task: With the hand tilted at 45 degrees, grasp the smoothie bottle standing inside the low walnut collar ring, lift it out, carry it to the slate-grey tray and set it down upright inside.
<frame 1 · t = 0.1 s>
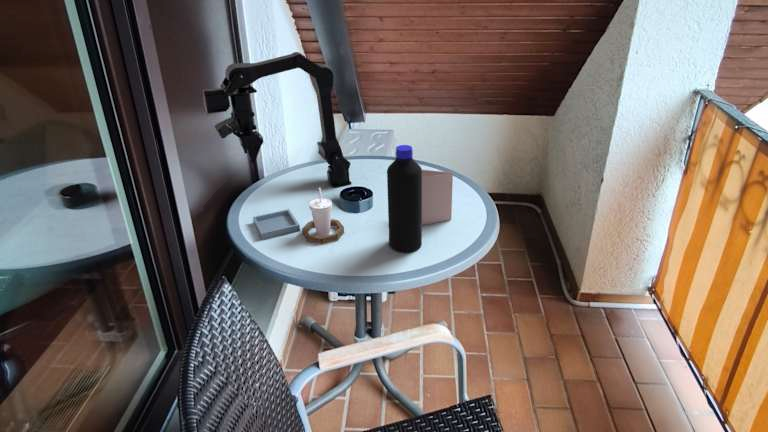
hand: (249, 158, 166), 15 cm above the table, tool pointing down, fingers open, 9 cm apart
bottle: (405, 245, 147), on the table
greeting card: (430, 222, 158), on the table
tray: (276, 226, 158), on the table
smoothie: (323, 234, 154), resting in collar
collar: (323, 233, 153), on the table
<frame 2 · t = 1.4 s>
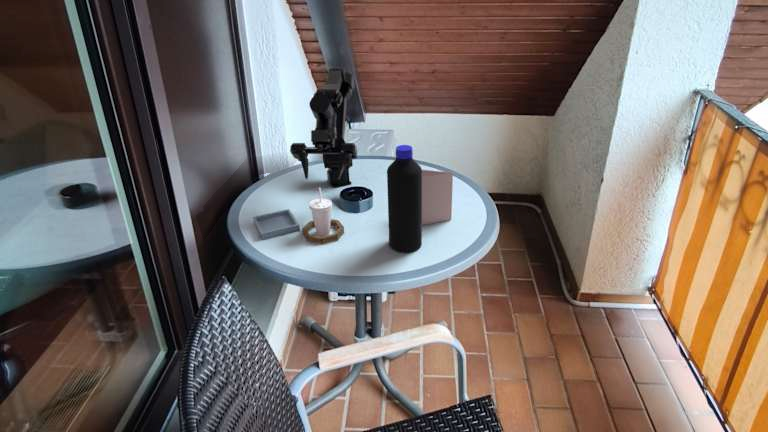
hand: (322, 178, 154), 13 cm above the table, tool tilted 45°, fingers open, 9 cm apart
nothing on the table moved.
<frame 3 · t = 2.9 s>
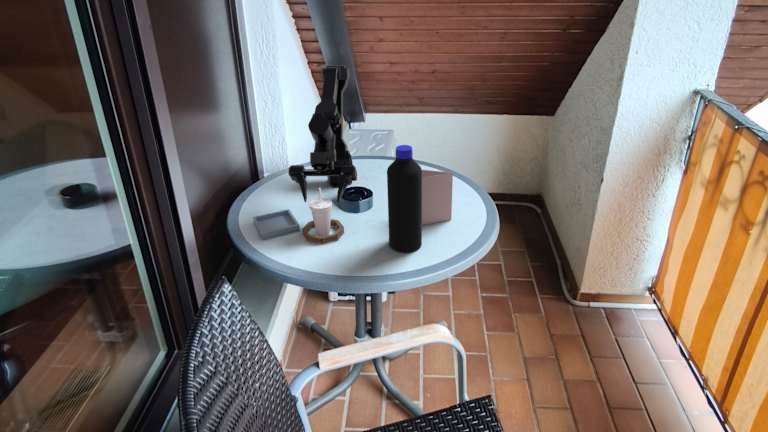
hand: (321, 201, 150), 9 cm above the table, tool tilted 45°, fingers open, 9 cm apart
nothing on the table moved.
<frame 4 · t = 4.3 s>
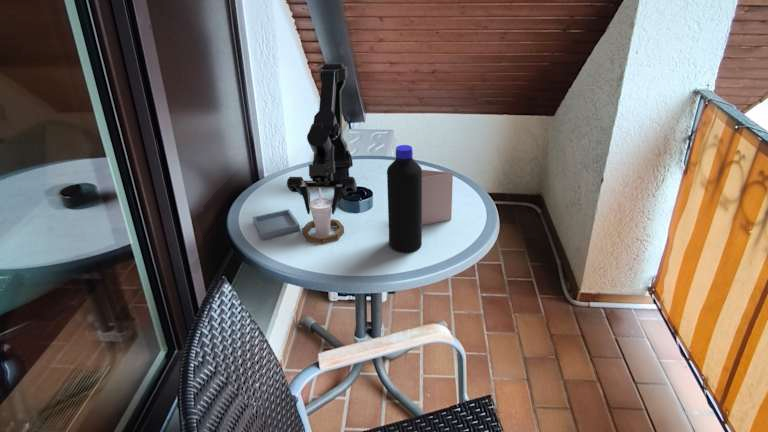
hand: (320, 213, 149), 7 cm above the table, tool tilted 45°, fingers closed on smoothie, 6 cm apart
smoothie: (323, 234, 154), resting in collar, touching gripper
everything else where it was.
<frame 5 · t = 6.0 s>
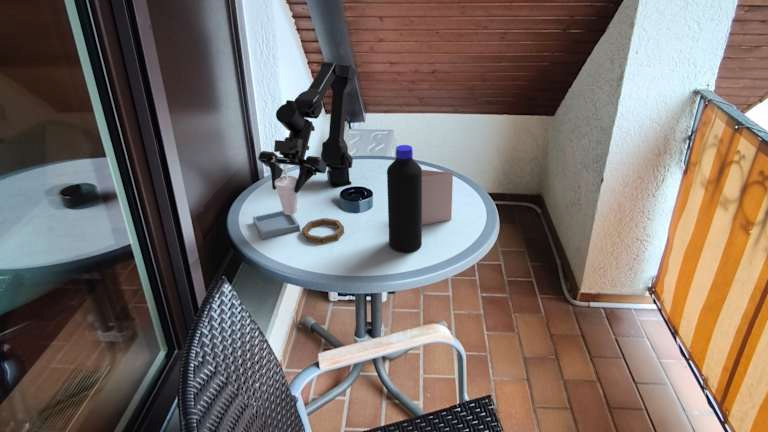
hand: (284, 190, 148), 13 cm above the table, tool tilted 45°, fingers closed on smoothie, 6 cm apart
smoothie: (290, 212, 153), point 6 cm above the table, touching gripper
everything else where it was.
when the fingers open (9 cm above the table, at t = 7.7 s): smoothie stays where it is, resting on tray.
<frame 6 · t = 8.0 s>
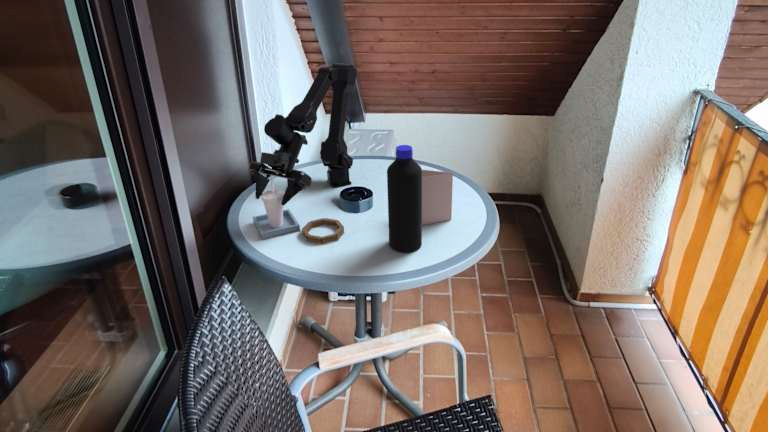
hand: (269, 201, 152), 9 cm above the table, tool tilted 45°, fingers open, 9 cm apart
smoothie: (276, 225, 158), resting on tray
everything else where it was.
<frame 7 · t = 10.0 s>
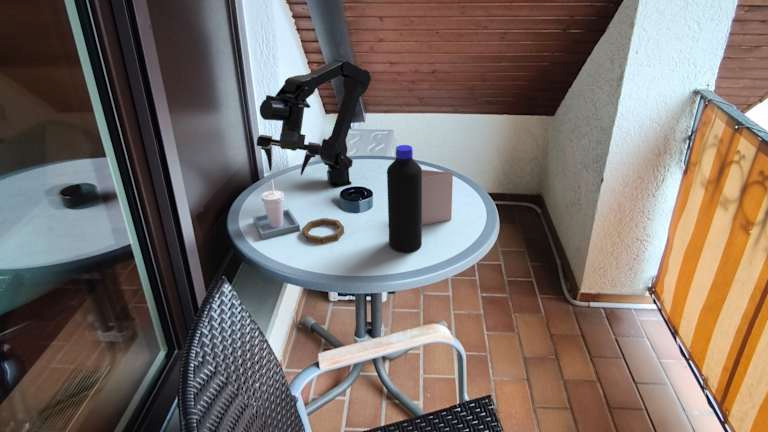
hand: (285, 172, 164), 11 cm above the table, tool tilted 20°, fingers open, 9 cm apart
nothing on the table moved.
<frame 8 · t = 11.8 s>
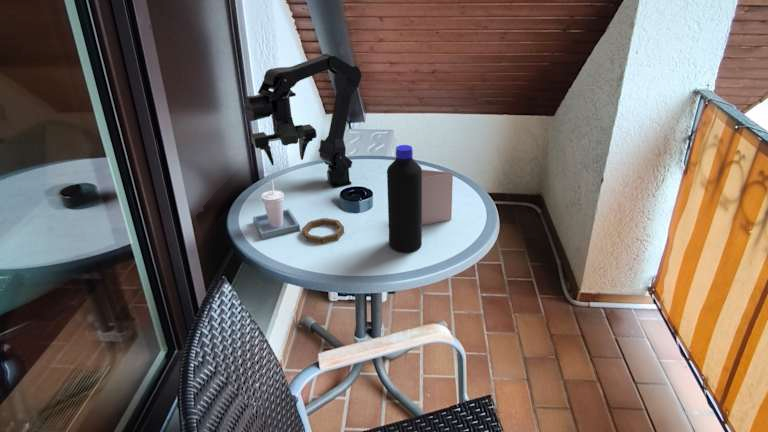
hand: (287, 162, 167), 13 cm above the table, tool pointing down, fingers open, 9 cm apart
nothing on the table moved.
at the end: smoothie inside the target area on the tray (0.1 cm from its centre), point 0.4 cm above the tray's base; smoothie tilted 0°; the gripper is holding nothing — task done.
